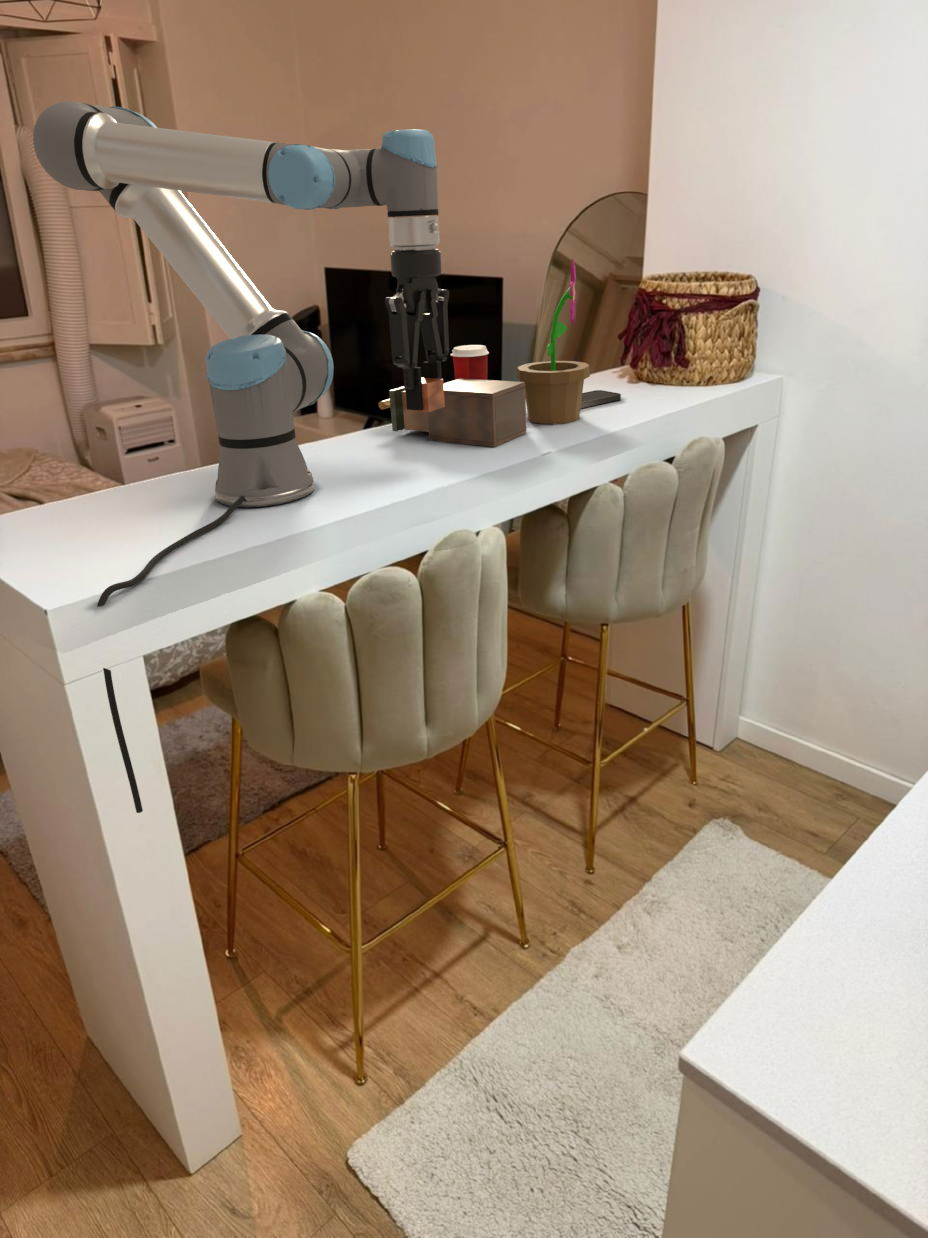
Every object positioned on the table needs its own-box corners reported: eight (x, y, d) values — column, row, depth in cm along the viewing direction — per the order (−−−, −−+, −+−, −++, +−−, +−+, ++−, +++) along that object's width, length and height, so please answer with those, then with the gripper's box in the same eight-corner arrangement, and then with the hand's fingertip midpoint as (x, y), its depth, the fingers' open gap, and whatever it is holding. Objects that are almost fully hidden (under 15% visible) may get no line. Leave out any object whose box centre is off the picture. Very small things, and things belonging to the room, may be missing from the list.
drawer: (375, 429, 175) (371, 389, 172) (406, 418, 183) (403, 379, 179) (449, 436, 166) (446, 394, 162) (479, 424, 173) (477, 384, 170)
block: (428, 412, 139) (427, 383, 137) (406, 410, 141) (404, 382, 139) (444, 406, 142) (443, 378, 140) (422, 404, 144) (421, 377, 143)
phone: (623, 393, 192) (571, 404, 184) (623, 399, 193) (571, 410, 185) (598, 389, 198) (546, 399, 190) (597, 394, 198) (546, 405, 191)
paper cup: (492, 411, 188) (490, 343, 182) (490, 419, 181) (487, 348, 176) (456, 413, 189) (452, 345, 183) (452, 420, 182) (447, 350, 176)
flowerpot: (587, 425, 172) (588, 259, 159) (514, 426, 174) (509, 262, 162) (591, 410, 184) (592, 254, 172) (522, 411, 187) (519, 258, 174)
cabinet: (429, 440, 168) (425, 388, 164) (463, 427, 176) (460, 377, 172) (494, 447, 160) (492, 393, 156) (526, 433, 169) (525, 381, 165)
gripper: (399, 251, 123) (410, 419, 133) (468, 244, 136) (474, 397, 146) (358, 252, 127) (371, 415, 137) (429, 245, 140) (436, 394, 150)
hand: (424, 405), depth 142 cm, fingers closed on block, 4 cm apart
